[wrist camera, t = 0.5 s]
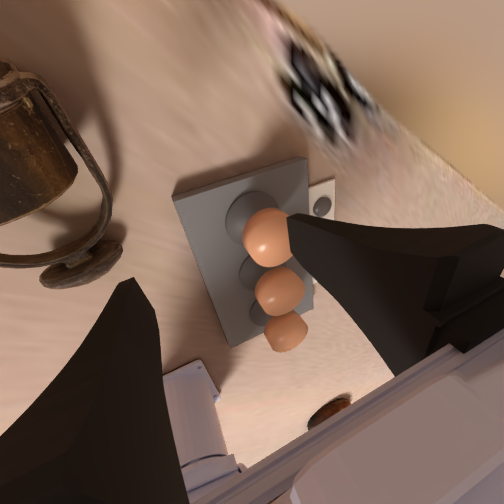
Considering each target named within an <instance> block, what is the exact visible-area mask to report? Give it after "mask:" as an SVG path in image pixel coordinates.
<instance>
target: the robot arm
mask: <svg viewBox="0 0 504 504" xmlns="http://www.w3.org/2000/svg"><path fill="white" fill-rule="evenodd" d="M286 220H287V228H288V236H289V244H290V252H291V253H292V255H293V256H294V257H295V259H296V260H297V261H298V262H299V264H300V265H301V266H302V267H303V268H304V269H305V270H306V271H307V272H308V273H309V274H310V275H311V276H312V277H313V278H314V279H315V280H316V281H317V282H318V283H319V284H320V285H322V286H323V287H324V288H325V289H326V290H327V291H328V292H329V293H330V294H331V295H332V296H333V297H334V298H335V299H336V300H337V301H338V302H339V303H340V305H341V306H342V307H343V308H344V309H345V311H346V312H347V313H348V314H349V315H350V317H351V318H352V319H353V320H354V322H355V323H356V324H357V325H358V327H359V328H360V329H361V330H362V332H363V333H364V334H365V335H366V337H367V338H368V340H369V341H370V342H371V344H372V345H373V346H374V348H375V349H376V350H377V352H378V353H379V354H380V356H381V357H382V359H383V360H384V362H385V363H386V364H387V366H388V367H389V369H390V370H391V372H392V373H393V374H394V376H395V377H394V378H393V379H391V380H390V381H388V382H386V383H385V384H383V385H382V386H380V387H378V388H377V389H375V390H373V391H372V392H370V393H369V394H367V395H365V396H364V397H362V398H361V399H359V400H357V401H356V402H354V403H353V404H351V405H349V406H348V407H346V408H345V409H343V410H341V411H340V412H338V413H336V414H335V415H333V416H332V417H330V418H328V419H327V420H325V421H324V422H322V423H320V424H319V425H317V426H316V427H314V428H312V429H311V430H309V431H308V432H306V433H304V434H303V435H301V436H299V437H298V438H296V439H295V440H293V441H291V442H290V443H288V444H287V445H285V446H283V447H282V448H280V449H279V450H277V451H275V452H274V453H272V454H271V455H269V456H267V457H266V458H264V459H263V460H261V461H259V462H258V463H256V464H254V465H253V466H251V467H250V468H247V467H246V466H245V465H244V464H243V463H239V464H236V461H235V457H234V454H231V455H228V452H227V448H226V444H225V440H224V437H223V433H222V430H221V426H220V423H219V419H218V415H217V412H216V408H215V405H214V403H215V402H217V401H219V400H220V398H221V397H220V394H219V393H218V391H217V389H216V387H215V385H214V383H213V381H212V379H211V378H210V376H209V374H208V372H207V370H206V368H205V366H204V364H203V363H202V361H201V360H195V361H193V362H191V363H189V364H187V365H185V366H183V367H181V368H179V369H177V370H175V371H172V372H170V373H168V374H166V375H164V376H163V374H162V361H161V347H160V335H159V328H158V323H157V318H156V314H155V310H154V308H153V307H152V305H151V304H150V302H149V301H148V299H147V297H146V296H145V294H144V293H143V291H142V289H141V288H140V286H139V285H138V283H137V281H136V280H135V278H134V277H133V278H130V279H128V280H125V281H122V282H120V283H118V285H117V286H116V288H115V290H114V292H113V293H112V295H111V297H110V299H109V300H108V302H107V304H106V306H105V307H104V309H103V311H102V313H101V314H100V316H99V318H98V319H97V321H96V323H95V324H94V326H93V327H92V329H91V330H90V332H89V333H88V335H87V336H86V338H85V339H84V341H83V342H82V344H81V345H80V347H79V348H78V350H77V351H76V352H75V354H74V355H73V356H72V358H71V359H70V360H69V361H68V363H67V364H66V365H65V367H64V368H63V369H62V370H61V372H60V373H59V374H58V375H57V376H56V377H55V379H54V380H53V381H52V382H51V383H50V384H49V385H48V387H47V388H46V389H45V390H44V391H43V392H42V393H41V394H40V396H39V397H38V398H37V399H36V400H35V401H34V402H33V403H32V405H31V406H30V407H29V408H28V409H27V410H26V411H25V412H24V413H23V414H22V415H21V416H20V417H19V418H18V419H17V420H16V421H15V422H14V423H13V424H12V425H11V426H10V427H9V428H8V429H7V430H6V431H5V432H4V433H3V434H2V435H1V436H0V504H267V503H269V502H270V501H272V500H273V499H275V498H276V497H278V496H279V495H281V494H282V493H284V492H285V491H286V490H287V491H286V492H285V493H284V494H282V495H281V496H280V497H279V498H277V499H276V500H275V501H274V502H272V503H271V504H504V278H502V277H500V275H501V273H502V271H503V269H504V229H501V228H498V227H495V226H492V225H488V224H478V225H468V226H458V227H446V228H415V229H413V228H385V227H374V226H365V225H358V224H352V223H346V222H340V221H335V220H331V219H326V218H321V217H317V216H312V215H307V214H301V213H296V214H294V215H291V216H288V217H286ZM289 488H290V489H289ZM288 489H289V490H288Z"/></svg>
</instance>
